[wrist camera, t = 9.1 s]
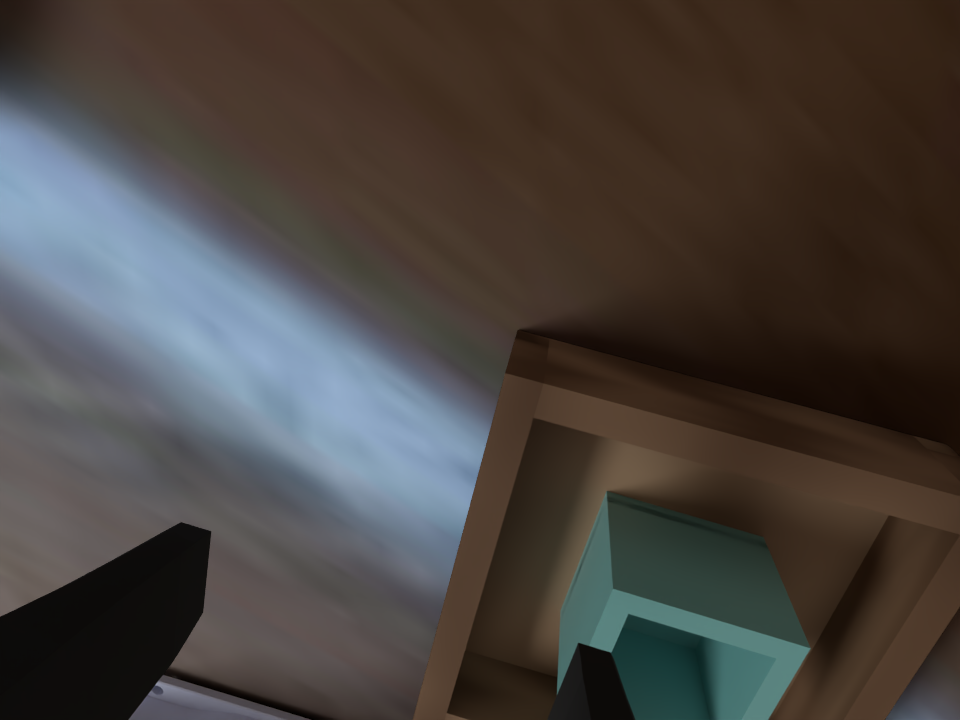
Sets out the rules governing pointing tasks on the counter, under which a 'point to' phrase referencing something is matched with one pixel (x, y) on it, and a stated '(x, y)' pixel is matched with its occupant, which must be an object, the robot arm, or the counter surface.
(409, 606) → the counter surface
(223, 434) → the counter surface
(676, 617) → the small crate
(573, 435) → the big crate
